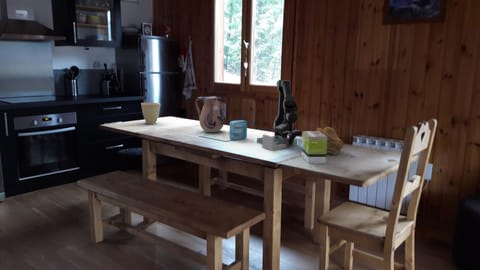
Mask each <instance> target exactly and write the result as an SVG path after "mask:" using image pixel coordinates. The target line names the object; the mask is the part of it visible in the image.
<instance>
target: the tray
mask: <svg viewBox="0 0 480 270" xmlns="http://www.w3.org/2000/svg"><path fill="white" fill-rule="evenodd" d="M271 136H272V137H274V142H278V138H282V137H281V136H274V135H271ZM256 143H258V144H261V145H262V143H263V136H262V137H257V138H256Z"/></svg>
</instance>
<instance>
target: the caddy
mask: <svg viewBox="0 0 480 270" xmlns="http://www.w3.org/2000/svg"><path fill="white" fill-rule="evenodd" d="M280 144H286V148H291V147H295V146H298V138H295V139H294V141H293V142H292V144H291V145H289V136H288V137H286V138H278V145H280Z"/></svg>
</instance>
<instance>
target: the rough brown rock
mask: <svg viewBox="0 0 480 270" xmlns="http://www.w3.org/2000/svg"><path fill="white" fill-rule="evenodd" d="M315 131H320V132H321V133H322V134H324V135H325V136H327V151H326V155H327V154H331V155H332V156H336V155H339V152H340V151H341V150H342V149H343V147H344V141H343V140H342V139H341V138H340V137H339V135H338V134H337V131H336V130H335V129H334V128H333V127H330V126H325V127H324V128H321V127H317V128H316V130H315Z"/></svg>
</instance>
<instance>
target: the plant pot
mask: <svg viewBox="0 0 480 270" xmlns="http://www.w3.org/2000/svg"><path fill="white" fill-rule="evenodd" d="M160 109H161V103H159V102H141V110H142V115H143V119H144V121H145V123H146V125H147V124H148V125H156V124H157V121H158V117H159V114H160Z"/></svg>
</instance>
